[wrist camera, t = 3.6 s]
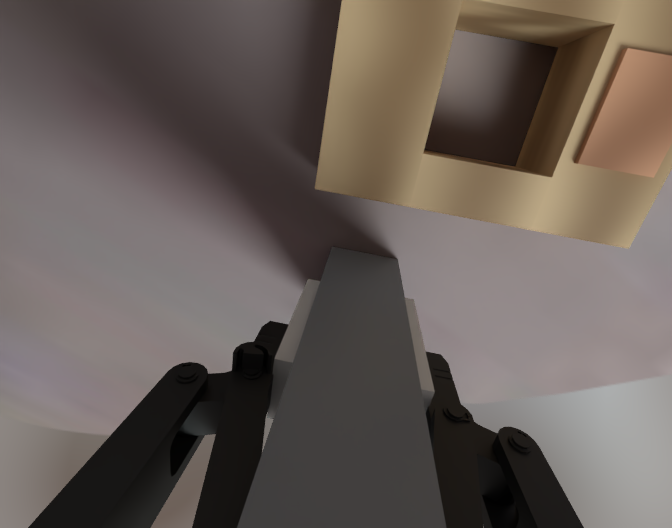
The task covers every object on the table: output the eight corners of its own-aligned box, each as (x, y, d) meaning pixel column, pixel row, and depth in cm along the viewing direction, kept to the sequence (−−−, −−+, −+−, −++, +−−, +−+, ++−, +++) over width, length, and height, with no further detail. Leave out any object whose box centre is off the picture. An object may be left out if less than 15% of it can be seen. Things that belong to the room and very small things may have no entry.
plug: (322, 303, 22) (219, 661, 7) (332, 246, 21) (228, 555, 6) (382, 316, 22) (402, 705, 7) (397, 259, 20) (460, 606, 6)
